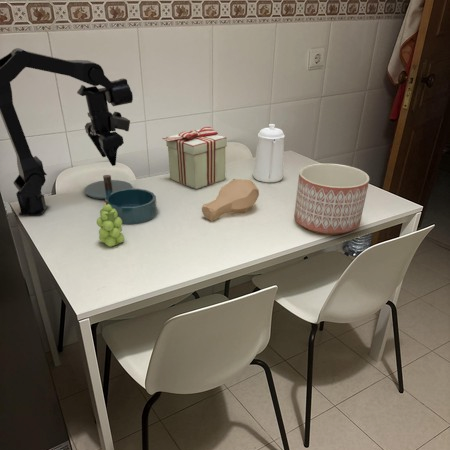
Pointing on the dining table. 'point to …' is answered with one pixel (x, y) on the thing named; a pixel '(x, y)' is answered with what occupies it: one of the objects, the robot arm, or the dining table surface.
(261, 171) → the coffeepot
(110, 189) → the lid
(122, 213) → the teal round bowl
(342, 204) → the planter
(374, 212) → the dining table surface
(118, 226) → the grapes
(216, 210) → the squash
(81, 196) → the dining table surface
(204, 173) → the gift box
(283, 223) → the dining table surface
